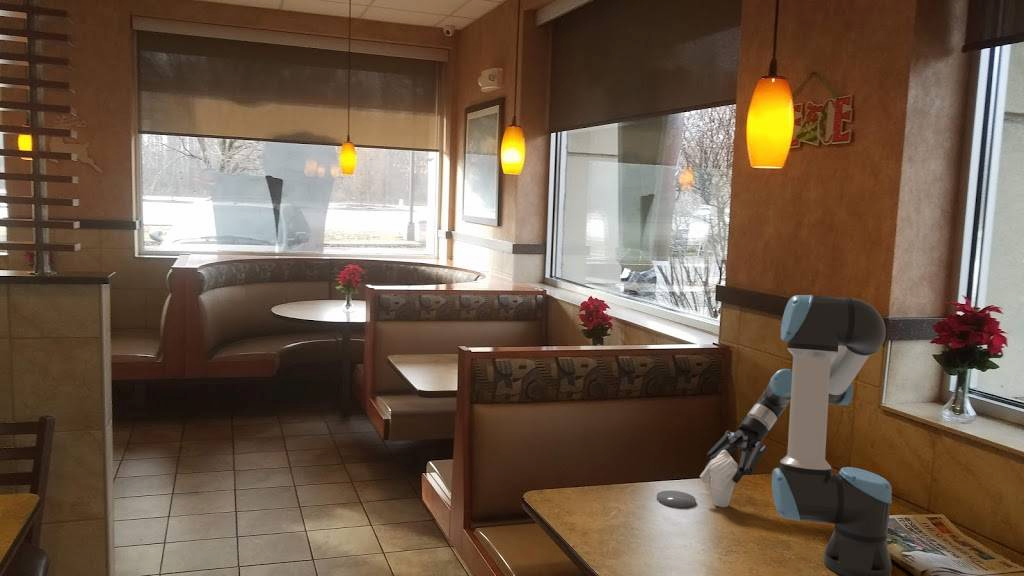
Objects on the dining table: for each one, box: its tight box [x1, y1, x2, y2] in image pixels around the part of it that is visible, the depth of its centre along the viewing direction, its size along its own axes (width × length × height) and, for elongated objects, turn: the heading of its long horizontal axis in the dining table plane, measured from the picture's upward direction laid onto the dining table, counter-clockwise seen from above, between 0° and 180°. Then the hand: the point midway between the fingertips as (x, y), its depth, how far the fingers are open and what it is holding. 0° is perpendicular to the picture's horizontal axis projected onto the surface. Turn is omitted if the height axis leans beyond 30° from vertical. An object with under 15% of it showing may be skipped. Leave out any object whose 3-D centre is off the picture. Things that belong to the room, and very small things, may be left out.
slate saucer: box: [656, 490, 697, 509], centre depth 233 cm, size 11×11×1 cm
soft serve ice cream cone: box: [709, 450, 739, 508], centre depth 231 cm, size 8×8×16 cm
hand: (713, 484), depth 229 cm, fingers closed on soft serve ice cream cone, 8 cm apart
